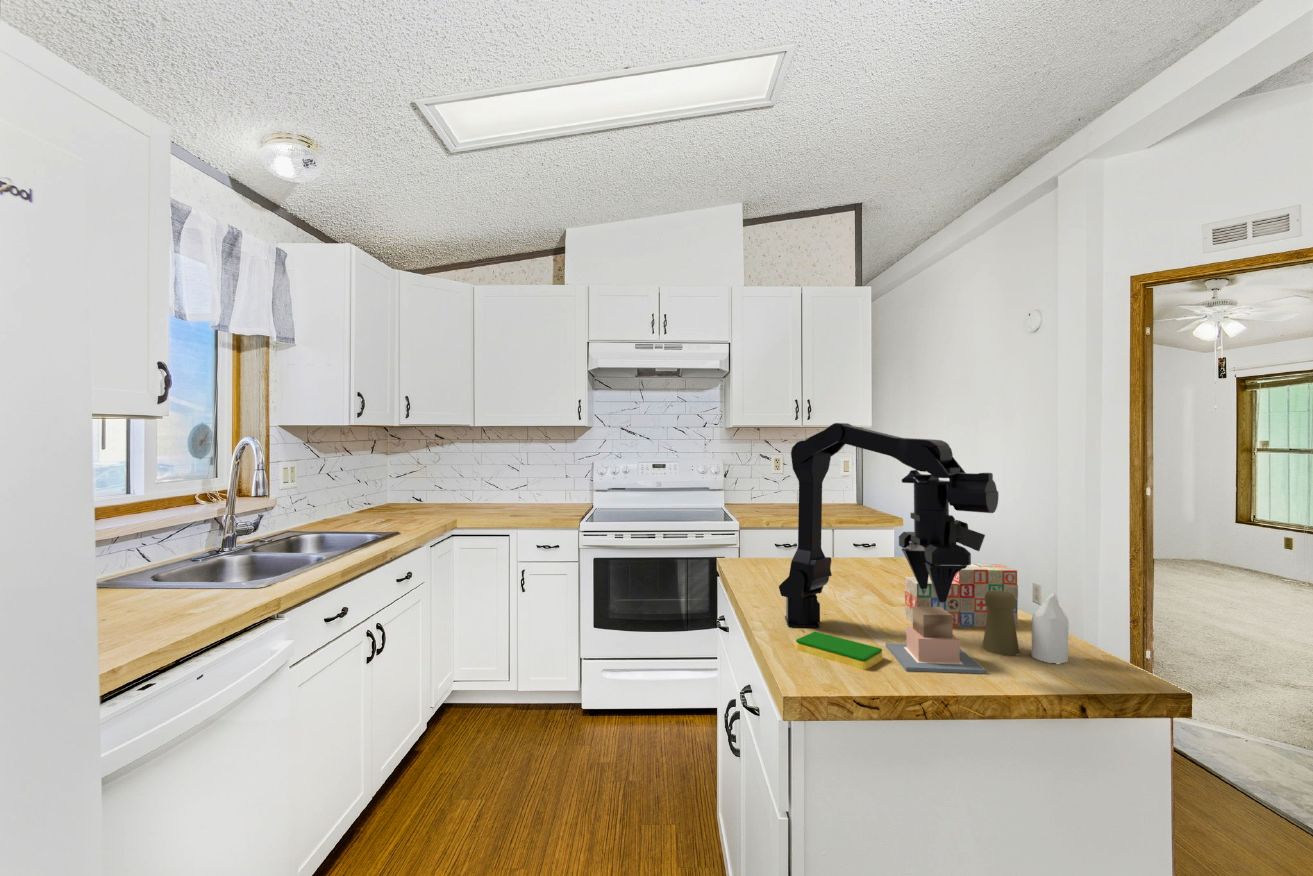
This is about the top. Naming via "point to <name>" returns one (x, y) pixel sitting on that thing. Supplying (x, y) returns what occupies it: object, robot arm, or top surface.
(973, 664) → the slate mat
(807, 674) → the top surface
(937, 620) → the walnut cube
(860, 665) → the dish sponge
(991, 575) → the stack of blocks
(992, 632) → the cork
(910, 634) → the pink square block
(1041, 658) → the white pointed cylinder
